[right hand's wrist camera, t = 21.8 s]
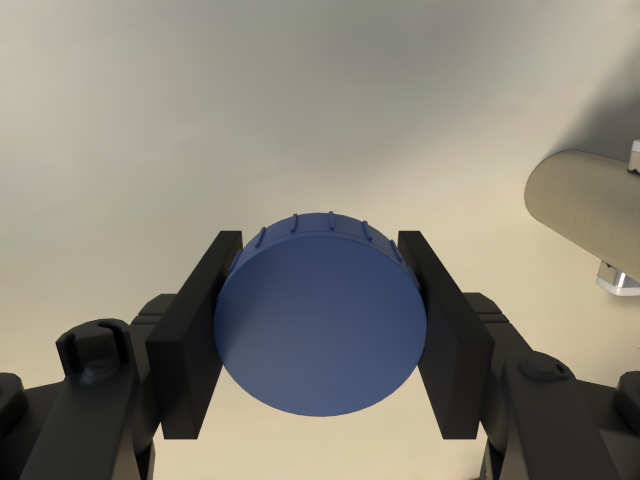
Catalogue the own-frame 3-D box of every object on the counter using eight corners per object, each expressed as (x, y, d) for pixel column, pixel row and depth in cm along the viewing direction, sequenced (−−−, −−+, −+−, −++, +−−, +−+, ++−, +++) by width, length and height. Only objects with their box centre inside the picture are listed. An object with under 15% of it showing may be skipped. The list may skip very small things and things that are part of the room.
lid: (431, 220, 11) (452, 245, 9) (395, 381, 13) (407, 426, 12) (228, 199, 11) (210, 221, 9) (225, 367, 13) (210, 410, 11)
